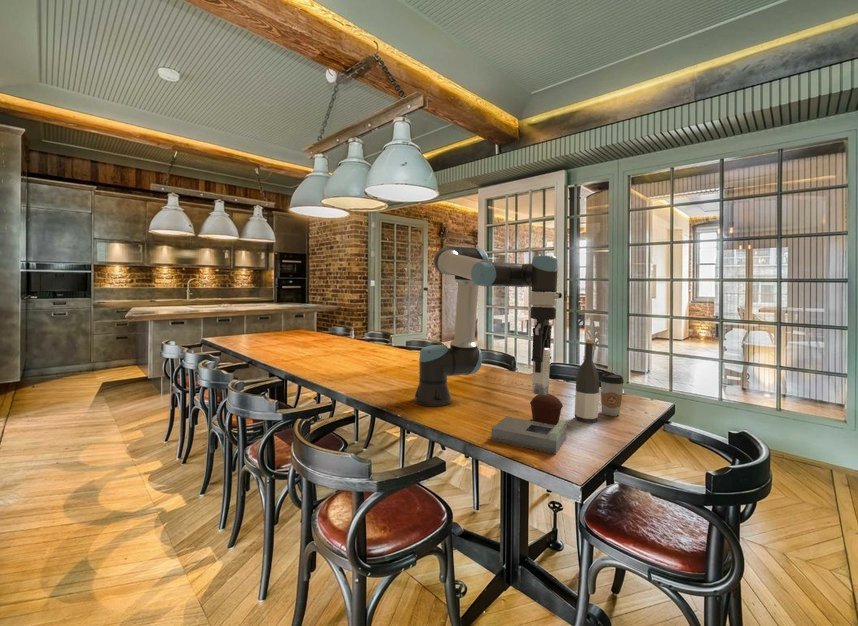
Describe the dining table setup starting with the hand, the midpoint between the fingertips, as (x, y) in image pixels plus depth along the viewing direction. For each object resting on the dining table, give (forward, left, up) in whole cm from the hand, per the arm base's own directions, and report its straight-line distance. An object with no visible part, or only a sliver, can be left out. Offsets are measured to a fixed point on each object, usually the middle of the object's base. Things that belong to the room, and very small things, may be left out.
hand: (540, 380), depth 128 cm
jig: (-3, 0, -19) cm, 20 cm away
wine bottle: (+9, +32, -20) cm, 39 cm away
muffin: (-3, +21, -20) cm, 29 cm away
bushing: (0, 0, -4) cm, 4 cm away
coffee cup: (+16, +45, -20) cm, 52 cm away
